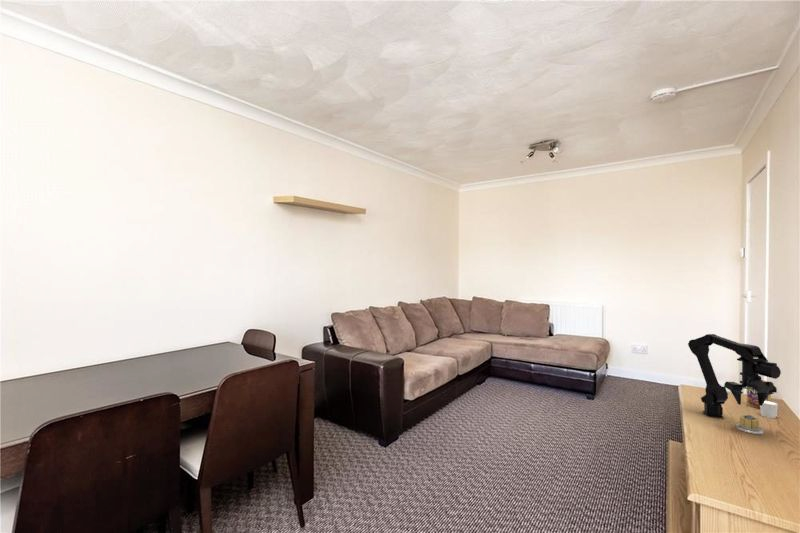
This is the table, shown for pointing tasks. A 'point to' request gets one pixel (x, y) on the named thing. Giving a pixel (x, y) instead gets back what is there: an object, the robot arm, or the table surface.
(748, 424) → the collar
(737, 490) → the table surface
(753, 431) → the hub
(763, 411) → the white cup
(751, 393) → the candy box
